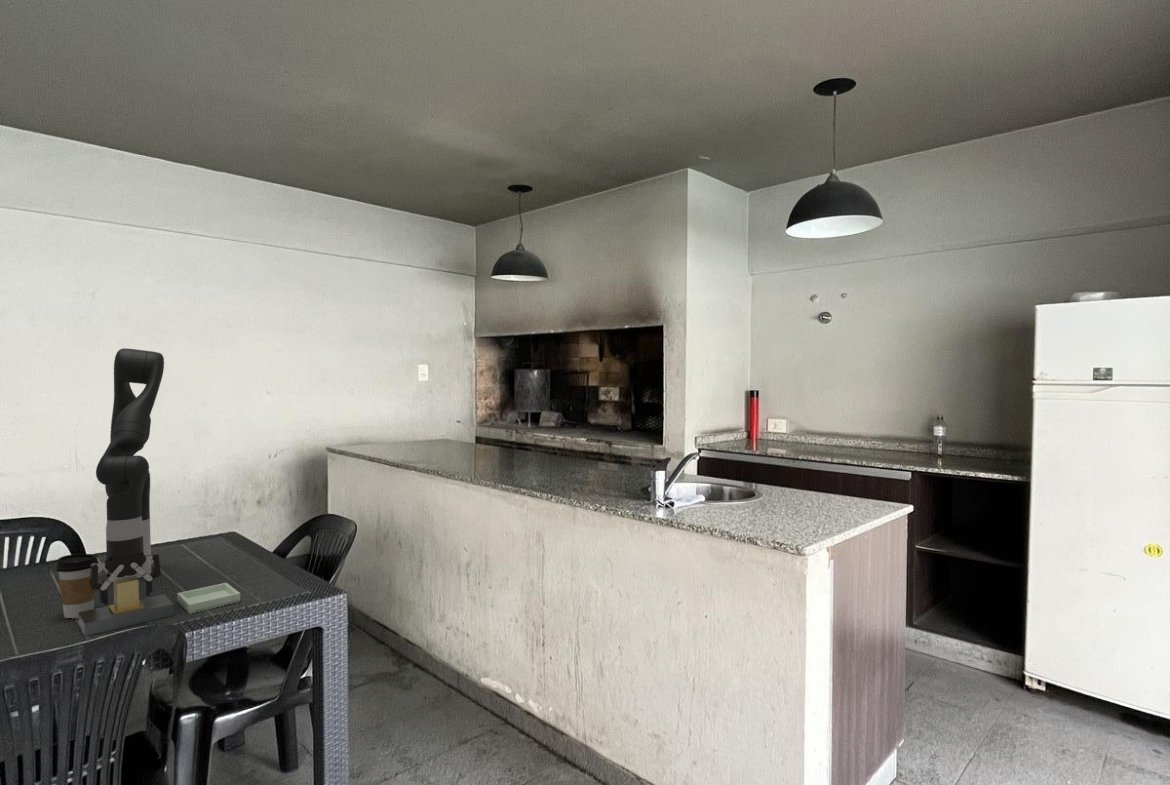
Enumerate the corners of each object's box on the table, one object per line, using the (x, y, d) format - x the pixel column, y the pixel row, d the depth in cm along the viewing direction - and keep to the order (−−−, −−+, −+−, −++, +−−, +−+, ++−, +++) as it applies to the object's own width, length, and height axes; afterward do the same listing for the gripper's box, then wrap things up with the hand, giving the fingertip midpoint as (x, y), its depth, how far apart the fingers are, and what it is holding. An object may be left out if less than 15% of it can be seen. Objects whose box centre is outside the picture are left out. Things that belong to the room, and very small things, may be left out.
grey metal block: (78, 624, 157) (78, 612, 156) (164, 605, 169) (164, 594, 169) (84, 636, 150) (84, 623, 149) (173, 615, 162) (173, 603, 162)
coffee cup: (73, 608, 167) (71, 552, 166) (107, 607, 167) (105, 551, 167) (49, 621, 158) (47, 562, 158) (85, 620, 159) (83, 561, 159)
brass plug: (108, 619, 159) (107, 579, 159) (139, 612, 164) (138, 573, 164) (113, 626, 155) (112, 585, 155) (145, 619, 159) (144, 579, 159)
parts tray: (177, 602, 171) (177, 593, 171) (226, 591, 180) (226, 582, 180) (189, 614, 163) (189, 604, 163) (240, 602, 171) (240, 593, 171)
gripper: (155, 527, 166) (156, 589, 167) (86, 538, 156) (88, 603, 157) (162, 533, 161) (163, 596, 162) (91, 544, 151) (93, 611, 152)
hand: (126, 599), depth 159 cm, fingers open, 8 cm apart
